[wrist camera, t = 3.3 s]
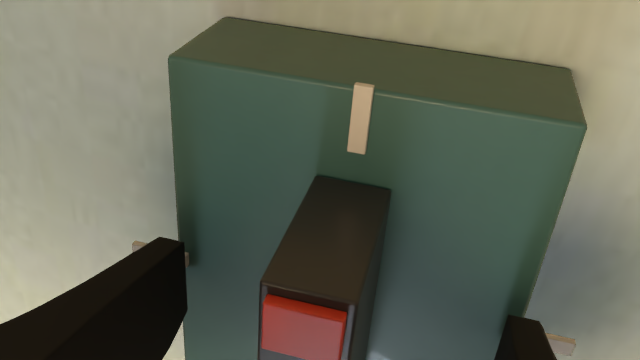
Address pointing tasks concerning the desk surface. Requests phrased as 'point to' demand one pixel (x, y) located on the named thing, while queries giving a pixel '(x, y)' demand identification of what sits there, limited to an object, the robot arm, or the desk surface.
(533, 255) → the panel
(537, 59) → the desk surface
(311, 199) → the battery with red terminal
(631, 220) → the desk surface
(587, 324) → the desk surface
